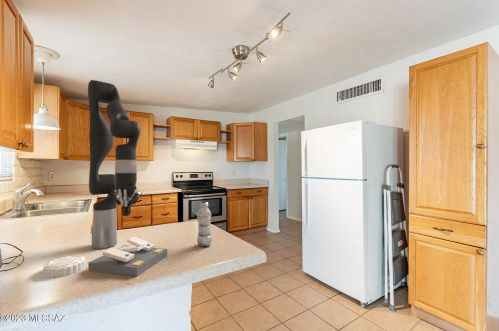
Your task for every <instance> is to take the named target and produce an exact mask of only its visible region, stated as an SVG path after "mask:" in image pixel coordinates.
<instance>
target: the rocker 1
mask: <svg viewBox="0 0 499 331" xmlns="http://www.w3.org/2000/svg"><path fill="white" fill-rule="evenodd" d="M103 255H105V256H108V257H111V258H114V259H118V260H121V261H124V262H127V261H129V260H131V259H132V258H134V255H135V254H132V253H128V252H125V251H121V250H118V248H115V247H109V248H106V250H103V251H102V256H103Z"/></svg>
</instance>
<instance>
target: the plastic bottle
mask: <svg viewBox="0 0 499 331" xmlns="http://www.w3.org/2000/svg"><path fill="white" fill-rule="evenodd" d="M196 218H197V227H198V228H197V229H198V230H197V238H196V241H197V244H198V246H199V247H208V246H210V245H211V244H212V241H213V238H212V234H211V233H212V232H211V220H212V212H211V210H210V208H209V202H208V201H201V202H199V209H198V210H197V211H196Z"/></svg>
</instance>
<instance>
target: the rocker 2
mask: <svg viewBox="0 0 499 331" xmlns="http://www.w3.org/2000/svg"><path fill="white" fill-rule="evenodd" d="M126 243H128V244H130V245H131V246H133V245H140V244H145V247H144V248H142V249H144V250H146V251H149V250H151V249H152V248H155V244H154V243H151V242H149V241H147V240H144V239H142V238H139V237H137V236H135V235H134V236H131V237H130V238H128V239H127V240H126Z"/></svg>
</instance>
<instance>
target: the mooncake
mask: <svg viewBox="0 0 499 331" xmlns="http://www.w3.org/2000/svg"><path fill="white" fill-rule="evenodd" d="M86 261H87V260H86V257H85V256H83V255H68V256H63V257H59V258H55V259H52V260H51V261H48V262H47V263H45V264H44V266H43V277H45V278H50V279H52V278H54V279H55V278H60V277H66V276H71V275H73V274H76V273H78V272H81V271H82V270H83V269H85V268H86V264H87V263H86Z"/></svg>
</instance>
